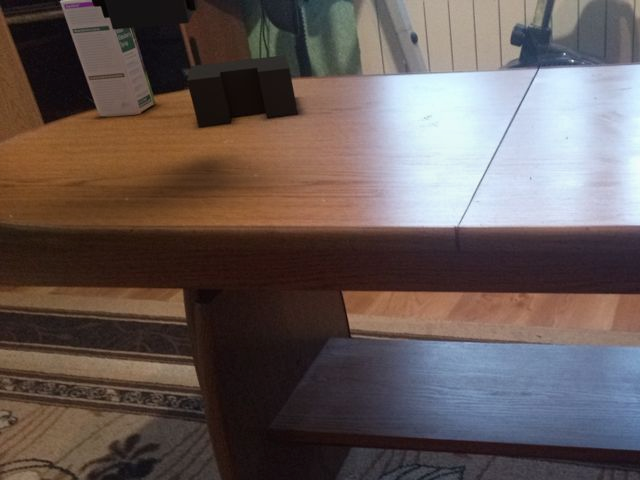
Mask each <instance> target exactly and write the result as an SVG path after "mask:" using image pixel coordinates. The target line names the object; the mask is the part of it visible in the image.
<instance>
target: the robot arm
mask: <svg viewBox="0 0 640 480" xmlns="http://www.w3.org/2000/svg"><path fill="white" fill-rule="evenodd" d="M92 3H93V5H94V7H100V6H101V9H102V13H103V16H104V18H110V17H109V14H108V10H107V7H106V3H105V0H92ZM186 4H187V8H188V9H190V11H194V12H196V11H198V9H199V4H198V0H186Z"/></svg>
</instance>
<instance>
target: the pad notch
mask: <svg viewBox="0 0 640 480" xmlns="http://www.w3.org/2000/svg"><path fill="white" fill-rule="evenodd" d="M291 74H292V73H291V68H290V66H289V62H288V60H287V57H286V55H285V54H283V55H282V54H281V55H273V56H264V57H258V58H257V57H256V58H248V59H247V58H246V59H240V60H239V59H237V60H230V61H222V62H213V63H203V64H196V65H195V64H194V65H191V66H190V70H189V73H188V76H187V79H186V83H187V87H188V91H189V95H190V98H191V102H192V107H193V110H194V115H195V118H196V121H197V125H198V127H199V128H202V127H203V128H204V127H209V126H219V125H226V124H231V122H232V118H236V117H245V116H252V115H253V116H254V115H260V114H261V115H262V114H265V115H266V119H272V118H280V117H287V116H296V115H298V114H299V112H298V107H297V101H296V96H295V95H296V94H295V90H294V85H293V80H292V75H291Z"/></svg>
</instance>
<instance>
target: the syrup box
mask: <svg viewBox="0 0 640 480" xmlns="http://www.w3.org/2000/svg"><path fill="white" fill-rule="evenodd" d="M59 3H60V6H61V9H62V12H63V15H64V18H65V21H66V23H67V27H68V29H69V32H70V35H71V38H72V42H73V43H74V46H75V50H76V53H77V56H78V59H79V62H80V64H81V67H82V70H83V74H84V76H85V79H86V82H87V85H88V87H89V91H90V94H91V96H92V99H93V103H94V105H95V107H96V111H97V114H98V116H99V117H123V116H125V117H126V116H133V115H140V114H142V112H144V111H146V110H147V109H148V108H149V109H150V108H151V107H152V106H155V104H156V103H157V102H156V99H155V96H154V93H153V90H152V85H151V81H150V79H149V76H148V72H147V69H146V66H145V63H144V59H143V56H142V53H141V49H140V46H139V43H138V39H137V36H136V33H135V30H134V29H135V28H126V29H113V28H112V24H111V21H110V18H104V16H103V13H102V9H101V6H100V7H94V5H93V3H92V0H60V1H59Z"/></svg>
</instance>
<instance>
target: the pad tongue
mask: <svg viewBox="0 0 640 480" xmlns="http://www.w3.org/2000/svg"><path fill="white" fill-rule="evenodd" d="M105 3H106V7H107V10H108V14H109V17H110V21H111V24H112V28H113V29H126V28H133V29H136V28H148V27H149V28H150V27H160V26H171V25H182V24H183V25H184V24H189V23H190V22H191V19H192V17H193V15H194V13H195V11H190V9H188V8H187V4H186V0H105Z"/></svg>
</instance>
